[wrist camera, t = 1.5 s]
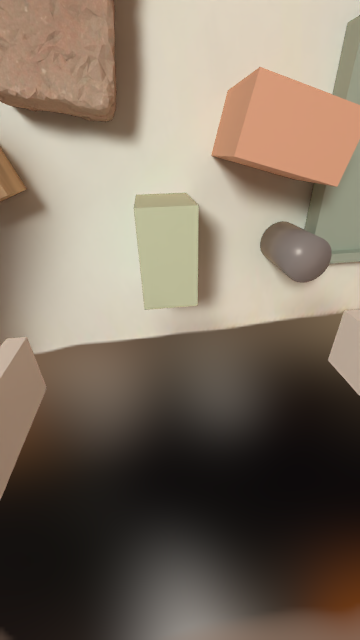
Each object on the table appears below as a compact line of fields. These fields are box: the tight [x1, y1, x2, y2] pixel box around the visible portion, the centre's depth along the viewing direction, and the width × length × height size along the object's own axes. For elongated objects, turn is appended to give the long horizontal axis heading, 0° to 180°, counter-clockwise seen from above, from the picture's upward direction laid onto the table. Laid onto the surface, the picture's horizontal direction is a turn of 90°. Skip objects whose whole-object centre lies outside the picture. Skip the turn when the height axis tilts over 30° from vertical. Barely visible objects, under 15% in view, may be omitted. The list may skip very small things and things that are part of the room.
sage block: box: [134, 193, 199, 310], centre depth 24 cm, size 4×8×7 cm, turn 2°
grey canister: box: [260, 221, 332, 282], centre depth 26 cm, size 4×4×6 cm
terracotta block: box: [211, 67, 360, 187], centre depth 20 cm, size 4×8×7 cm, turn 77°
